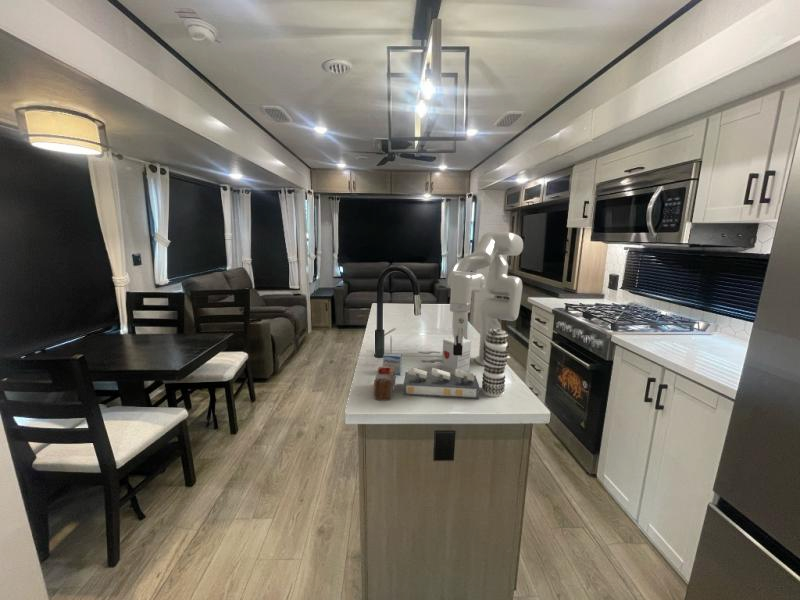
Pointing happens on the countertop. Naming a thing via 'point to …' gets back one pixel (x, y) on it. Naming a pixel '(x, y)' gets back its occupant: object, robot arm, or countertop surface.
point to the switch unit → (441, 386)
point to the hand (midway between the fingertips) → (457, 354)
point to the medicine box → (393, 362)
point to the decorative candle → (494, 362)
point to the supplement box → (455, 356)
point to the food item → (384, 383)
